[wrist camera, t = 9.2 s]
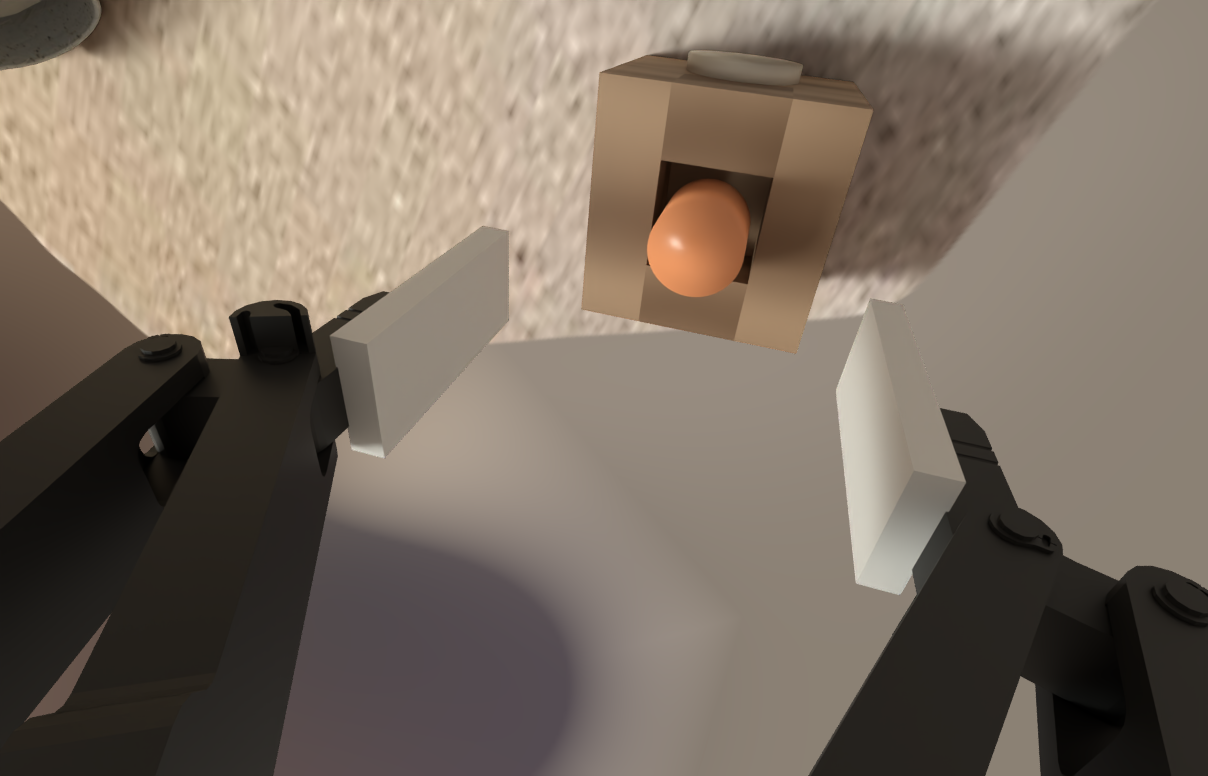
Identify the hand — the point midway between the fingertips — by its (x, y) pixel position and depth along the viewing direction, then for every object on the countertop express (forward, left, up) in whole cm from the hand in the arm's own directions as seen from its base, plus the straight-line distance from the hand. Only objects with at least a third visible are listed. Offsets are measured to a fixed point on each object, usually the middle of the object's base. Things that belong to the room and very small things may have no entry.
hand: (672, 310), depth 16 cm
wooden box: (0, 0, -16) cm, 16 cm away
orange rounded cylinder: (0, 0, -8) cm, 8 cm away
